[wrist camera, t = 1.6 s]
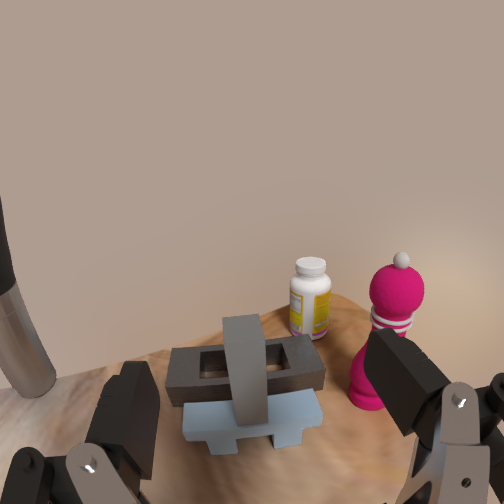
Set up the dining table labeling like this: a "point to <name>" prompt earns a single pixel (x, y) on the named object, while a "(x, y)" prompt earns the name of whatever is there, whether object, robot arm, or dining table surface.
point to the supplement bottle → (310, 298)
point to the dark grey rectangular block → (214, 359)
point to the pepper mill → (387, 319)
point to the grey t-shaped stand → (249, 398)
